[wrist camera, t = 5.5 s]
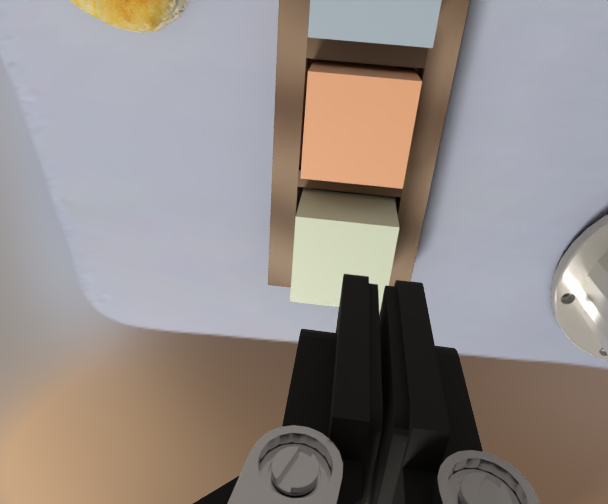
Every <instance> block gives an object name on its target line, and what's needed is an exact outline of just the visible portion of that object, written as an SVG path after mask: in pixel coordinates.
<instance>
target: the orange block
mask: <svg viewBox="0 0 608 504" xmlns="http://www.w3.org/2000/svg"><path fill="white" fill-rule="evenodd" d="M421 85H422V80H421V79H420V77H419V76H418V74H417V73H416V71H415V70H414V68H404V67H393V66H381V65H370V64H359V63H347V62H336V61H325V60H314V61H313V63H312V65H311V67H310V68H309V70H308V76H307V91H306V105H305V119H304V134H303V148H302V162H301V177H300V178H301V179H311V180H321V181H331V182H340V183H350V184H360V185H370V186H380V187H390V188H399V189H403V185H404V179H405V173H406V168H407V162H408V157H409V151H410V146H411V140H412V135H413V129H414V124H415V118H416V113H417V107H418V102H419V96H420V91H421Z"/></svg>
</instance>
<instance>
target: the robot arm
mask: <svg viewBox="0 0 608 504" xmlns="http://www.w3.org/2000/svg"><path fill="white" fill-rule="evenodd" d="M551 306H552V309H553V313H554V317H555V318H556V320H557V322H558V324H559V326H560V328H561V329H562V331H563V332H564V333H565V335H566V336H567V337H568V339H569V340H570V341H571V342H572V343H573V344H575V345H576V346H577V347H578V348H580V349H581V350H583V351H585V352H586V353H588V354H590V355H592V356H594V357H597V358H600V359H604V360H607V361H608V214H607V215H605V216H604V217H602V218H601V219H600V220H598V221H597V222H595V223H594V224H593V225H591V226H590V227H589V228H587V229H586V230H585V231H584V232H583V233H582V234H581V235H580V236H579V237H578V238H577V239H576V240H575V241H574V242H573V243H572V244H571V246H570V247H569V248H568V250H567V251H566V252H565V254H564V255H563V257H562V258H561V260H560V262H559V264H558V266H557V269H556V271H555V273H554V276H553V281H552V285H551ZM366 503H367V504H540V502H539V499H538V497H537V495H536V493H535V492H534V490H533V489H532V487H531V486H530V484H529V482H528V481H527V479H526V478H525V477H524V476H523V475H522V474H521V473H520V472H519V471H518V470H517V469H516V468H515V467H513V466H512V465H510V464H509V463H507V462H506V461H504V460H503V459H501V458H499V457H497V456H494V455H492V454H489V453H486V452H483V451H482V447H481V443H480V439H479V435H478V431H477V427H476V423H475V419H474V415H473V411H472V407H471V403H470V399H469V395H468V391H467V387H466V383H465V379H464V375H463V371H462V367H461V363H460V359H459V355H458V353H457V350H456V349H455V348H448V347H440V346H435V345H434V340H433V335H432V329H431V324H430V319H429V314H428V308H427V303H426V298H425V293H424V287H423V284H422V283H418V282H410V281H401V280H396V281H395V284H394V286H387V285H386V286H385V288H384V293H383V299H382V305H381V310H380V316H379V295H378V284H370V283H369V277H368V276H359V275H351V274H344V275H343V281H342V289H341V297H340V305H339V312H338V320H337V328H336V333H330V332H323V331H315V330H307V329H301V332H300V337H299V342H298V348H297V353H296V358H295V364H294V368H293V374H292V379H291V384H290V389H289V395H288V399H287V405H286V410H285V415H284V420H283V425H282V427H279V428H276V429H274V430H271V431H269V432H267V433H266V434H265V435H263V436H262V437H261V438H260V439H258V440H257V442H256V443H255V445H254V446H253V448H252V449H251V451H250V453H249V455H248V458H247V460H246V462H245V465H244V467H243V469H242V471H241V474H240V476H238V477H237V478H235V479H233V480H232V481H230V482H228V483H226V484H225V485H223V486H222V487H220V488H218V489H217V490H215V491H213V492H212V493H210V494H208V495H207V496H205V497H203V498H202V499H200V500H198V501H197V502H195V503H193V504H366Z"/></svg>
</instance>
